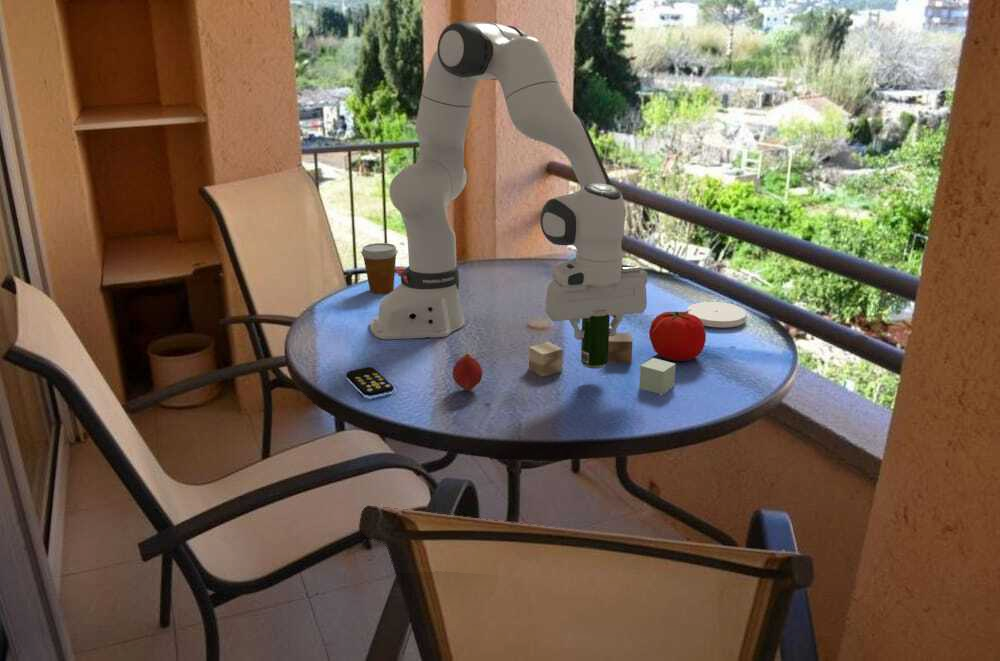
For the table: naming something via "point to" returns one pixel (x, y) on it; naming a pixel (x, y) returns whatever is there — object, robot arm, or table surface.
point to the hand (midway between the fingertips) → (595, 336)
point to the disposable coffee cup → (380, 266)
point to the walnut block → (620, 348)
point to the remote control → (369, 381)
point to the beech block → (545, 358)
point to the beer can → (595, 340)
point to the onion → (467, 372)
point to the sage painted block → (657, 375)
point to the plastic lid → (718, 314)
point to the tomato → (677, 335)
